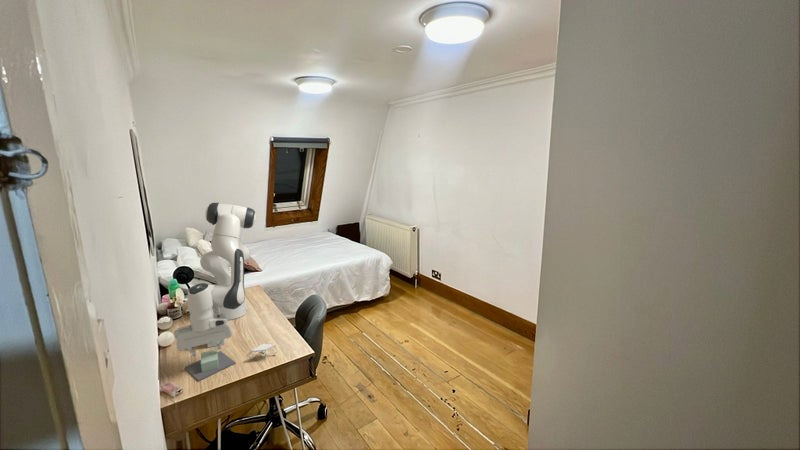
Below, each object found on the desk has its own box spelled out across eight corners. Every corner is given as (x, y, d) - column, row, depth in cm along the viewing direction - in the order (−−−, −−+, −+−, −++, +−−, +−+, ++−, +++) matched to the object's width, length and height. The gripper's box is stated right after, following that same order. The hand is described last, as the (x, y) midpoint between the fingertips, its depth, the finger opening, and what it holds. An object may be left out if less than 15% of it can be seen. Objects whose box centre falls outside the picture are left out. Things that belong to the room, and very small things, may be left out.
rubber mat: (184, 368, 144) (184, 366, 144) (220, 352, 156) (220, 350, 155) (198, 381, 136) (198, 380, 135) (235, 363, 147) (235, 362, 147)
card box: (202, 372, 140) (200, 363, 139) (202, 360, 148) (201, 352, 147) (218, 368, 143) (217, 359, 142) (217, 357, 151) (216, 348, 150)
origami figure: (272, 348, 159) (271, 338, 158) (279, 355, 153) (278, 346, 152) (245, 358, 151) (244, 348, 150) (251, 366, 145) (250, 356, 144)
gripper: (173, 332, 133) (177, 363, 136) (230, 319, 144) (233, 348, 147) (173, 325, 138) (177, 355, 141) (228, 313, 149) (231, 341, 152)
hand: (206, 351), depth 144 cm, fingers open, 8 cm apart
